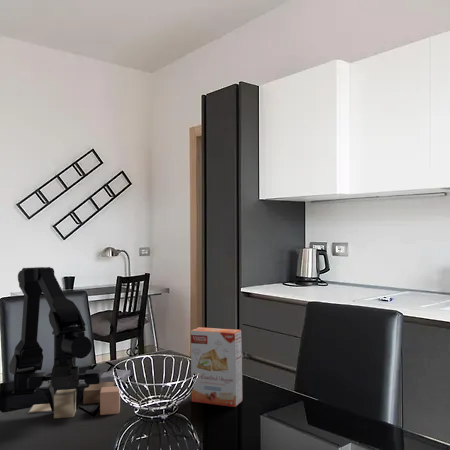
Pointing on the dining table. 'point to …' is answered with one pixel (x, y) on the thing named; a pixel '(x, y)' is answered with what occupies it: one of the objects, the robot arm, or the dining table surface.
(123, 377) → the stone block
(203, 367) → the cracker box
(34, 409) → the tile
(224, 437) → the dining table surface
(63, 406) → the oak block
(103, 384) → the walnut base block
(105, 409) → the terracotta block
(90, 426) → the dining table surface
